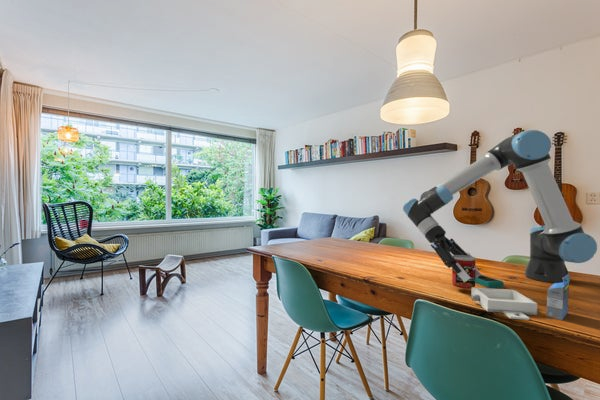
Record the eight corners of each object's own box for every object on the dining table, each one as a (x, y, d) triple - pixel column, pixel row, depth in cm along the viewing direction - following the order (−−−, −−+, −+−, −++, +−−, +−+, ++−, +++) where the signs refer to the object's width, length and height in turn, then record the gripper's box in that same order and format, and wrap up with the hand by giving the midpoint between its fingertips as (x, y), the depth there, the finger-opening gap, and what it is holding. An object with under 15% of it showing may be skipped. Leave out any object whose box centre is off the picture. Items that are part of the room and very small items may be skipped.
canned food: (455, 288, 109) (455, 258, 108) (449, 282, 116) (449, 254, 116) (478, 289, 107) (478, 259, 107) (471, 283, 114) (471, 255, 114)
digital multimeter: (475, 278, 131) (475, 271, 131) (504, 288, 116) (505, 281, 116) (460, 279, 129) (461, 272, 129) (489, 289, 115) (489, 282, 115)
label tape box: (551, 309, 93) (552, 270, 93) (569, 313, 90) (569, 273, 90) (545, 316, 88) (546, 275, 88) (563, 321, 85) (564, 278, 84)
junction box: (513, 296, 106) (514, 286, 106) (554, 322, 84) (554, 309, 84) (460, 292, 109) (461, 283, 109) (486, 316, 87) (486, 304, 87)
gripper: (439, 234, 130) (478, 279, 117) (411, 238, 118) (451, 288, 105) (451, 223, 126) (493, 268, 113) (423, 225, 113) (467, 277, 100)
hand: (473, 278), depth 109 cm, fingers closed on canned food, 8 cm apart
